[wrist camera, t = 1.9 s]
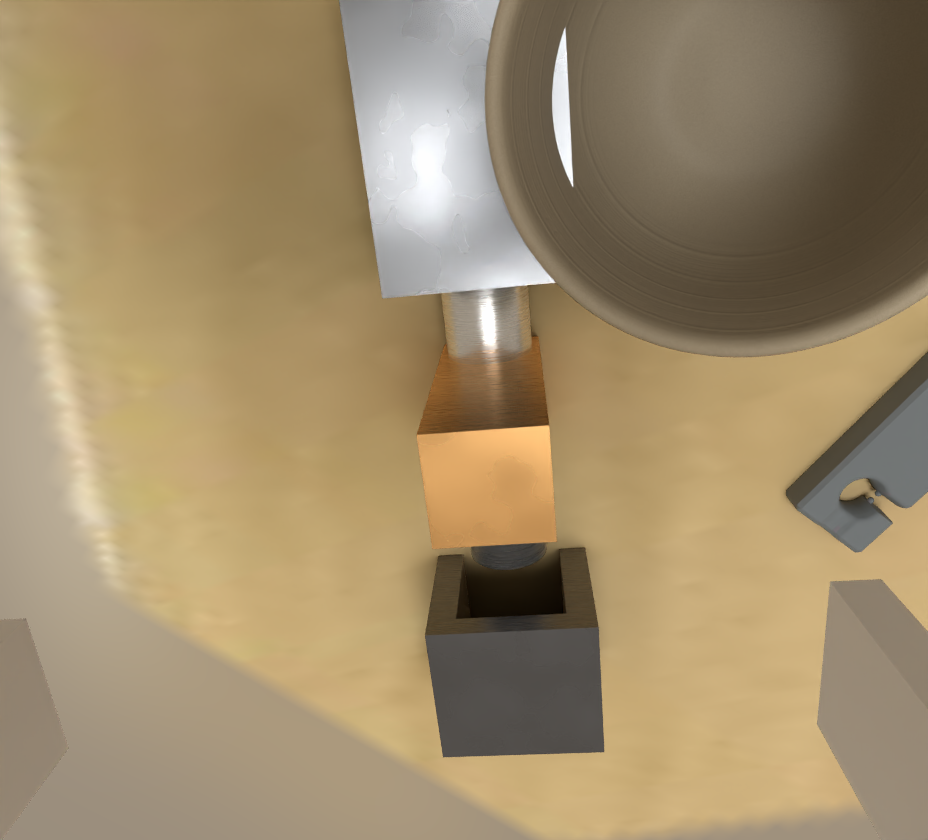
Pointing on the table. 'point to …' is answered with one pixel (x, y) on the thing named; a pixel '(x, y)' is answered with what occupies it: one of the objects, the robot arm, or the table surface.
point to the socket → (515, 670)
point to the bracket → (871, 464)
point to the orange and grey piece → (489, 433)
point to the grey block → (436, 145)
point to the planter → (720, 163)
